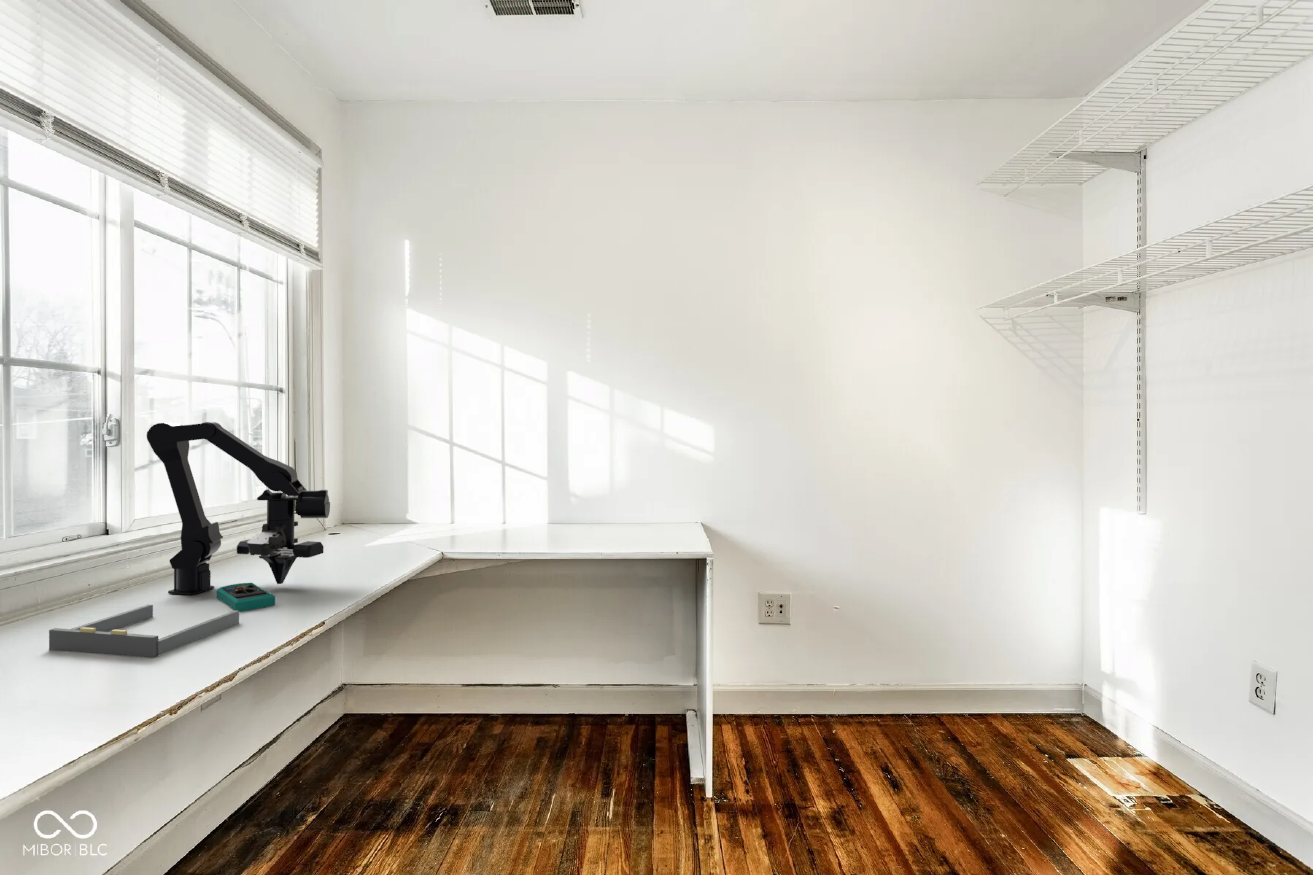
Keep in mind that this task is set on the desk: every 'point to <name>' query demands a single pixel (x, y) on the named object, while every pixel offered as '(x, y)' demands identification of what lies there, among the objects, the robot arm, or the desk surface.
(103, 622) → the frame
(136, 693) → the desk surface
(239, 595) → the digital multimeter
